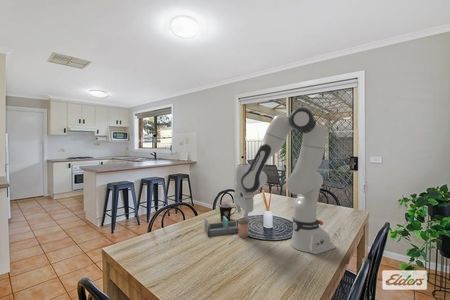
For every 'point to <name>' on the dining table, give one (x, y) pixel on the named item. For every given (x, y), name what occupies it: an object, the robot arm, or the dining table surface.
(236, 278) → the dining table surface
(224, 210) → the coffee mug
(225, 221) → the pusher
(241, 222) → the jar
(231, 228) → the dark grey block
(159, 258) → the dining table surface
